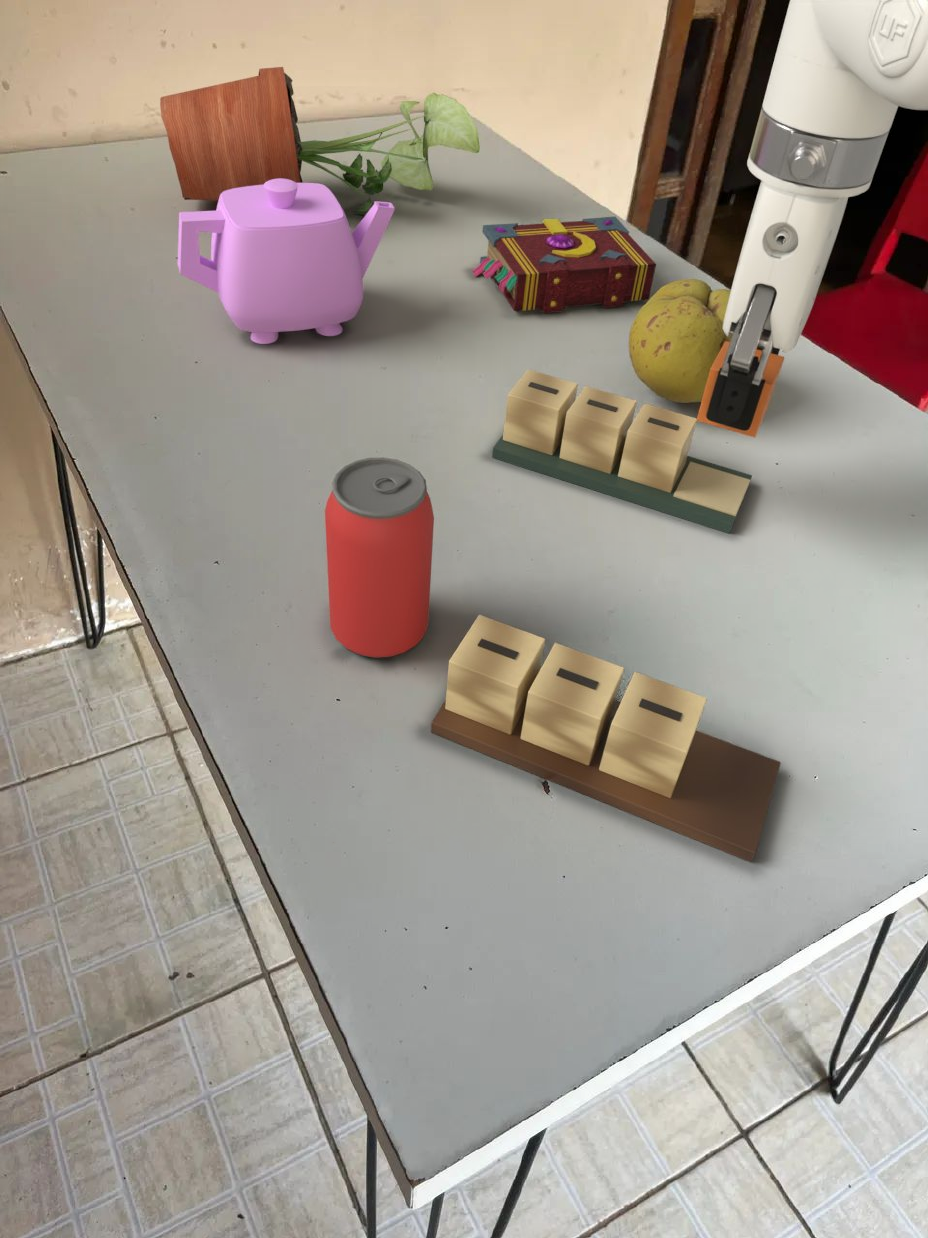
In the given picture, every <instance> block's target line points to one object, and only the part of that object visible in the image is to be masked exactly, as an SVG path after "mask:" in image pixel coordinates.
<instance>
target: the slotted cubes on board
mask: <svg viewBox="0 0 928 1238" xmlns="http://www.w3.org/2000/svg"><path fill="white" fill-rule="evenodd" d="M545 644H546V638H544V637H542V636H540V635H539V636H538V635H536V634H533V633H530V632H528V631H525V630H523V629H521V628H517V627H514V626H512V625H509V624H506V623H503V622H500V621H498V620H495V619H492V618H490V617H487V616H485V615H482V614H479V615H477V617H476V619H475V620H474V622H473V623H472V625H471V626H470V628H469V630H468V631H467V633H466V634H465V636H464V637H463V639H462V640H461V642H460V644H459V645H458V647H457V648H456V650H455V651H454V653H453V654H452V656H451V657H450V659H449V660H448V668H447V669H448V670H447V682H446V696H445V700H444V702H443V703H442V705H441V706H440V708H439V710H438V711H437V713H436V714H435V716H434V717H433V719H432V721H431V725H430V733H432V734H434V735H436V736H439V737H442V738H443V739H447V740H449V741H451V742H454V743H457V744H459V745H462V746H464V747H466V748H469V749H471V750H473V751H476V752H479V753H481V754H484V755H486V756H489V757H491V758H493V759H495V760H498V761H500V762H502V763H503V762H504V763H505V764H508V765H510V766H513V767H515V768H518V769H520V770H523V771H526V772H528V773H531V774H533V775H536V776H537V777H540V778H542V779H545V780H548V781H550V782H552V783H555V784H558V785H560V786H562V787H565V788H567V789H569V790H572V791H575V792H576V793H579V794H582V795H585V796H587V797H590V798H591V799H595V800H597V801H600V802H602V803H605V804H606V805H609V806H612V807H614V808H616V809H619V810H622V811H624V812H627V813H629V814H631V815H633V816H637V817H639V818H641V819H644V820H646V821H649V822H651V823H654V824H657V825H658V826H661V827H664V828H666V829H669V830H671V831H674V832H676V833H678V834H681V835H684V836H686V837H688V838H691V839H693V840H695V841H698V842H700V843H703V844H705V845H708V846H710V847H713V848H715V849H717V850H719V851H720V850H721V851H723V852H725V853H728V854H730V855H732V856H735V857H737V858H740V859H742V860H745V861H747V862H752V861H753V860H754V858H755V855H756V853H757V850H758V846H759V844H760V843H759V842H760V840H761V836H762V832H763V830H764V829H763V828H764V825H765V821H766V818H767V814H768V810H769V806H770V803H771V799H772V795H773V792H774V789H775V785H776V782H777V778H778V774H779V770H780V767H781V764H782V763H781V761H779V760H776V759H774V758H771V757H768V756H766V755H763V754H760V753H757V752H755V751H752V750H749V749H748V748H745V747H742V746H739V745H736V744H734V743H730V742H728V741H726V740H723V739H721V738H718V737H714V736H712V735H710V734H708V733H705V732H702V731H699V730H697V728H698V726H699V723H700V720H701V717H702V716H703V712H704V710H705V706H706V704H707V702H708V698H707V697H705V696H702V695H700V694H697V693H695V692H693V691H689V690H687V689H684V688H681V687H678V686H675V685H673V684H670V683H667V682H664V681H662V680H659V679H656V678H654V677H651V676H648V675H646V674H643V673H640V672H638V671H634V673H633V675H632V677H631V679H630V681H629V683H628V685H627V687H626V690H625V692H624V694H623V697H622V699H621V701H619V700H617V698H618V694H619V692H620V687H621V683H622V679H623V676H624V673H625V667H624V666H621V665H618V664H615V663H613V662H610V661H608V660H604V659H602V658H600V657H597V656H593V655H591V654H589V653H586V652H582V651H580V650H577V649H574V648H571V647H569V646H567V645H564V644H560V643H559V642H555V643H554V644H553V646H552V648H551V649H550V651H549V653H548V655H547V657H546V659H545V660H544V662H543V664H542V661H543V656H544V649H545Z"/></svg>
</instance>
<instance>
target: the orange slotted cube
mask: <svg viewBox="0 0 928 1238" xmlns="http://www.w3.org/2000/svg"><path fill="white" fill-rule="evenodd" d="M729 344H730V342H728V341H725V343H724V345H723V347H722V348H721V350H720V352H719V354H718V356H717V358H716V360H715V361H714V363H713V365H712V367H711V369H710V373H709V376H708V380H707V384H706V387H705V391H704V395H703V398H702V402H700V406H699V408H698V413H697V417H696V419H697V422H700V423H704V424H707V425H710V426H714V427H717V428H721V429H724V430H727V431H730V432H733V433H734V432H735V433H737V434H741V435H745V436H747V437H752V438H756V436H757V434H758V432H759V429H760V427H761V425H762V423H763V421H764V419H765V416H766V413H767V412H768V408H769V405H770V402H771V400H772V397H773V394H774V391H775V387H776V385H777V382H778V377H779V376H780V374H781V370H782V367H783V363H784V362H785V356H783V355H779V354H778V355H776V354H772V353H771V354H770V357H769V360H768V362H767V365H766V368H765V371H764V374H763V377H762V379H764V380H766V381H765V384H764V387H763V390H762V393H761V396H760V399H759V402H758V405H757V408H756V411H755V414H754V417H753V420H752V424H751V426H750V428H749V429H748V430H747V431H743V430H739V429H736V428H733V427H729V426H726V425H722V424H719V423H716V422H712V421H709V420H708V419H707V417H706V414H707V411H708V407H709V404H710V400H711V397H712V393H713V390H714V386H715V383H716V379H717V376H718V372H719V370H720V368H722V366H723V363H724V360H725V357H726V354H727V350H728V347H729ZM761 353H762V351H761V350H757V349H756V352H755V356H757V357H758V359H760V356H761ZM758 362H759V360H758Z"/></svg>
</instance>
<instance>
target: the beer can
mask: <svg viewBox="0 0 928 1238" xmlns="http://www.w3.org/2000/svg"><path fill="white" fill-rule="evenodd" d="M426 481H427V480H426V479H425V477H424V476H423V474H422V473H421V471H419V470H418V469H416V468H415V467H414V466H412V465H411V464H409V463H407V462H403V461H402V460H399V459H397V458H396V459H395V458H390V457H384V456H383V457H367V458H363V459H358V460H354V461H353V462H350V463H349V464H346V465H345V466H342V468H340V470H339V471H338V472H337V473H335V476H334V477H333V480H332V482H331V488H332V489H331V492H330V494H329V496H328V498H327V501H326V504H325V508H324V522H325V524H324V525H325V541H326V543H325V544H326V562H327V563H326V564H327V565H326V567H327V582H328V586H327V587H328V605H329V607H328V608H329V624H330V626H329V627H330V630H331V632H332V634H333V636H334V638H335V639H336V641H338V642H339V643H340V645H342V646H343V647H344V648H345V649H346V650H349V651H351V652H353V653H355V654H357V655H359V656H364V657H370V658H375V659H376V658H378V659H379V658H390V657H394V656H397V655H401V654H404V653H407V651H410V650H411V649H413V648H414V647H415V646H417V645H418V644H419V642H421V640H422V639H423V638H424V636H425V635H426V632H427V629H428V625H429V619H430V618H429V617H430V603H431V602H430V600H431V599H430V598H431V582H432V581H431V580H432V565H433V564H432V563H433V545H434V543H433V542H434V524H435V516H434V510H433V505H432V501H431V497H430V495H429V492H428V487H427V482H426Z"/></svg>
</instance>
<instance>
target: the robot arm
mask: <svg viewBox="0 0 928 1238" xmlns="http://www.w3.org/2000/svg"><path fill="white" fill-rule="evenodd" d="M786 10H787V11H786V15H785V18H784V22H783V25H782V29H781V33H780V37H779V41H778V44H777V48H776V52H775V56H774V59H773V60H774V61H773V64H772V67H771V70H770V75H769V77H768V78H769V79H768V82H767V86H766V90H765V94H764V98H763V102H762V105H761V109H760V113H759V117H758V121H757V124H756V127H755V131H754V135H753V139H752V143H751V147H750V151H749V154H748V158H747V161H746V166H747V168H748V170H749V172H750V173H751V174H752V175H753V176H754V177H755V178H757V179H759V180H760V184H759V187H758V191H757V194H756V198H755V200H754V204H753V208H752V211H751V215H750V219H749V222H748V225H747V228H746V232H745V236H744V239H743V243H742V247H741V251H740V254H739V258H738V262H737V266H736V269H735V273H734V277H733V279H732V280H733V281H732V285H731V288H730V291H731V292H730V296H729V301H728V305H727V309H726V313H725V318H724V322H723V330H724V333H725V334H726V335H727V337H729V336H730V335H731V333H732V338H731V341H730V344H729V347H728V350H727V354H726V357H725V360H724V363H723V366H722V368H720V370H719V372H718V376H717V379H716V383H715V386H714V390H713V393H712V397H711V400H710V404H709V407H708V411H707V414H706V417H707V419H708V420H709V421H712V422H716V423H719V424H722V425H726V426H729V427H733V428H736V429H739V430H743V431H747V430H748V429H749V428H750V426H751V424H752V420H753V417H754V414H755V411H756V408H757V405H758V402H759V399H760V396H761V393H762V390H763V387H764V384H765V381H766V380H764V379H762V377H763V374H764V371H765V368H766V365H767V362H768V360H769V357H770V354H771V353H772V354H776V355H779V353H780V350H782V351H781V352H782V353H789V352H791V351H792V350H794V349H795V348H796V346H797V343H798V342H799V340H800V338H801V335H802V333H803V330H804V328H805V326H806V324H807V322H808V319H809V317H810V315H811V311H812V309H813V307H814V303H815V301H816V298H817V294H818V291H819V289H820V285H821V283H822V279H823V277H824V274H825V271H826V268H827V265H828V263H829V259H830V256H831V254H832V251H833V248H834V245H835V243H836V239H837V236H838V233H839V230H840V226H841V224H842V221H843V219H844V214H845V210H846V208H847V204H848V199H849V198H851V197H856V196H859V195H861V194H863V193H865V192H867V191H868V190H869V189H870V187H871V184H872V181H873V178H874V175H875V172H876V169H877V167H878V165H879V161H880V158H881V155H882V154H883V153H882V152H883V149H884V148H885V147H884V146H885V145H886V141H887V138H888V136H889V133H890V130H891V128H892V125H893V122H894V119H895V118H896V117H895V116H896V114H897V111H898V108H899V107H900V108H903V109H909V110H915V111H928V0H789V3H788V7H787V9H786ZM743 323H744V325H743ZM742 326H743V328H742ZM756 349H757V350H761V351H762V353H761V356H760V359H758V357H757V356H755V352H756ZM758 360H759V362H758Z"/></svg>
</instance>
